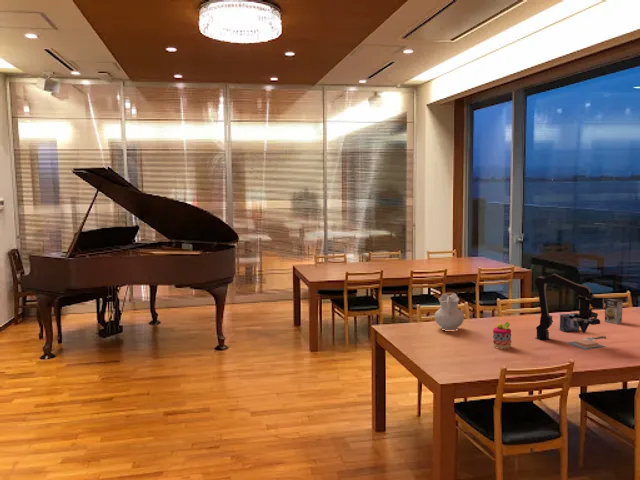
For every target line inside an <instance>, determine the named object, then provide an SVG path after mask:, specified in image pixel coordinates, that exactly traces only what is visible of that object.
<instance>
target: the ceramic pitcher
mask: <svg viewBox="0 0 640 480" xmlns="http://www.w3.org/2000/svg"><path fill="white" fill-rule="evenodd" d="M438 302H439V305H440V308H439V309H438V310H437V311H435V313H434V320H435V323H437V325H438V326H439V327H440V328H442V329H445V330H456V329H458V330H459V328H458V327H460V326H461V325H463V322H464V321H465V315H464V312H463V311H462V310H461V309H460V308H459V307H458V306H459V302H460V297H458V294H456V293H455V292H452V293H451V295H449V294H447V293H446V294H445V293H442V294H441V296H440V297H439V298H438Z"/></svg>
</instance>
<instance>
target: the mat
mask: <svg viewBox="0 0 640 480" xmlns="http://www.w3.org/2000/svg"><path fill="white" fill-rule="evenodd" d="M576 341H577V340H575V341H568V342H565V344H567V345H569V346H572V347H575V348H578V349H581V350H583V351H587V350H593V349H594V350H595V349H602V348H607V346H606V345H603V344H599V343H598V346H596V347H589V348H585V347H582V346H579V345H576V344H575V343H576Z"/></svg>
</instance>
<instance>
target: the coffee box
mask: <svg viewBox="0 0 640 480" xmlns="http://www.w3.org/2000/svg"><path fill="white" fill-rule="evenodd" d="M623 304H624V301H623V300H622V299H617V298H604V322H605V323H610V324H613V325H618V324H623V307H624V306H623Z"/></svg>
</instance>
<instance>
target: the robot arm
mask: <svg viewBox="0 0 640 480" xmlns="http://www.w3.org/2000/svg"><path fill="white" fill-rule="evenodd" d="M552 282H555V283H557V284H559V285H561V286H564V287H566V288H568V289H570V290H573V291H574V292H575V294H577V297H575V300H576V301H577V300H578V301H579V302H578V308H577V311H578V312H573V313H572V312H571V313H569V314H570V315H569V318H570V319H573V318H577V321H576V322H577V323H578V324H579V329H580V330H581V332H582V333H583V334H586V332H587V329H588V327H589V326H590V325H591V326H592V325H593V326H594V325H601V320H600V318H598V316H599V313H598V312H594V311H593V309H599V310H605V298H604V297H603V296H595V295H594V294H593V292H592V290H591V287H589V286H588V285H585V284H580V283H576V282H574V281H572V280H570V279H567V278H565V277H563V276H560V275H558V274H557V273H553V274H550V275H547V276H543V275H540V276H538V277H537V278H535V280H534V285H535V289H536V290H537V292H538V300H539V308H540V309H539V310H540V318H539V325H537V326H536V328H535V329H536V337H535V340H539V341H540V342H541V341H542V342H543V341H550V340H551V339H550V338H549V337H550V332H549V328H550V327H551V326H552V324H553V323H554V321H553V315H550V313H549V307H548V306H549V305H548V299H547V291H546V290H547V285H548V284H549V283H552Z"/></svg>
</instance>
